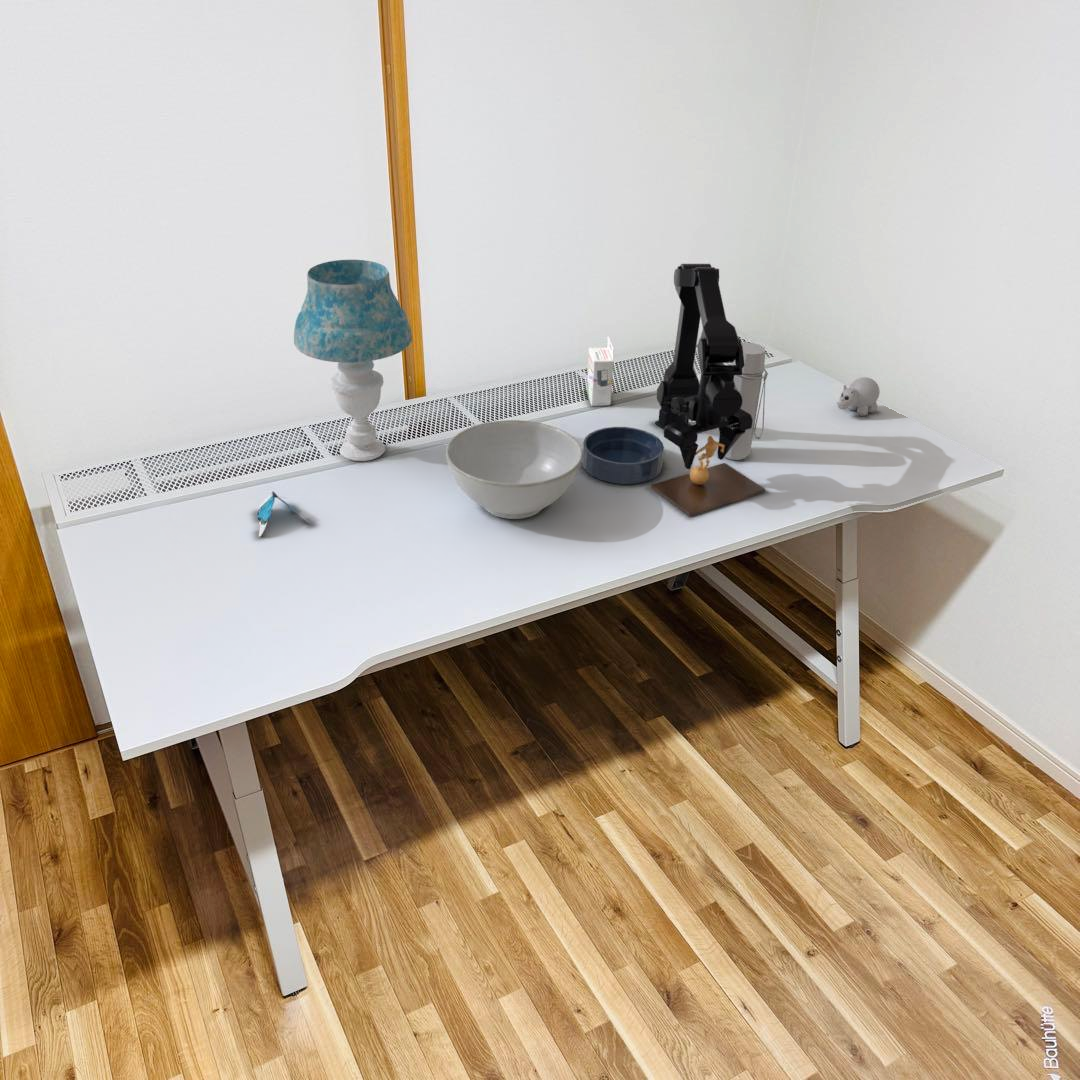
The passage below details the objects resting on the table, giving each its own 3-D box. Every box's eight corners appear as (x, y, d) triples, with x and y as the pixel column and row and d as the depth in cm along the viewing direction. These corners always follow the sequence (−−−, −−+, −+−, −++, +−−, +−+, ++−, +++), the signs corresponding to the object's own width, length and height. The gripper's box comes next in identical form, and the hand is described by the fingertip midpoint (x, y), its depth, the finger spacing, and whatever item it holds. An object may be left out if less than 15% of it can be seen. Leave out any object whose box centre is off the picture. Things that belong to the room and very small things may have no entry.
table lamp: (405, 421, 229) (395, 249, 207) (428, 470, 210) (420, 286, 188) (300, 434, 222) (279, 258, 200) (315, 485, 203) (293, 296, 181)
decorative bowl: (516, 458, 215) (517, 408, 208) (607, 505, 199) (611, 452, 193) (420, 500, 199) (417, 447, 192) (510, 555, 183) (511, 499, 177)
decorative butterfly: (293, 482, 196) (306, 493, 188) (299, 512, 198) (312, 525, 190) (242, 493, 192) (253, 505, 184) (249, 524, 194) (260, 537, 186)
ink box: (585, 391, 245) (588, 335, 237) (605, 391, 246) (609, 334, 238) (590, 406, 238) (594, 348, 230) (611, 406, 238) (615, 348, 230)
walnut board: (724, 465, 215) (724, 462, 214) (764, 492, 205) (765, 489, 205) (650, 488, 206) (650, 484, 205) (689, 517, 196) (689, 513, 196)
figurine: (709, 475, 209) (716, 424, 203) (725, 488, 205) (733, 437, 198) (676, 482, 206) (682, 431, 199) (692, 496, 202) (699, 444, 195)
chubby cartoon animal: (823, 412, 239) (830, 379, 234) (859, 402, 244) (866, 370, 239) (845, 423, 233) (852, 390, 229) (881, 413, 239) (889, 381, 234)
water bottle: (713, 458, 217) (727, 351, 204) (721, 443, 223) (736, 338, 210) (754, 466, 215) (772, 359, 201) (761, 451, 221) (779, 345, 207)
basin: (630, 440, 224) (632, 420, 221) (677, 473, 211) (680, 452, 209) (567, 457, 216) (568, 437, 213) (611, 492, 204) (613, 471, 201)
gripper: (723, 370, 204) (713, 437, 212) (650, 388, 196) (644, 457, 204) (759, 390, 196) (748, 459, 205) (685, 410, 188) (677, 481, 196)
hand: (703, 463), depth 203 cm, fingers closed on figurine, 8 cm apart
